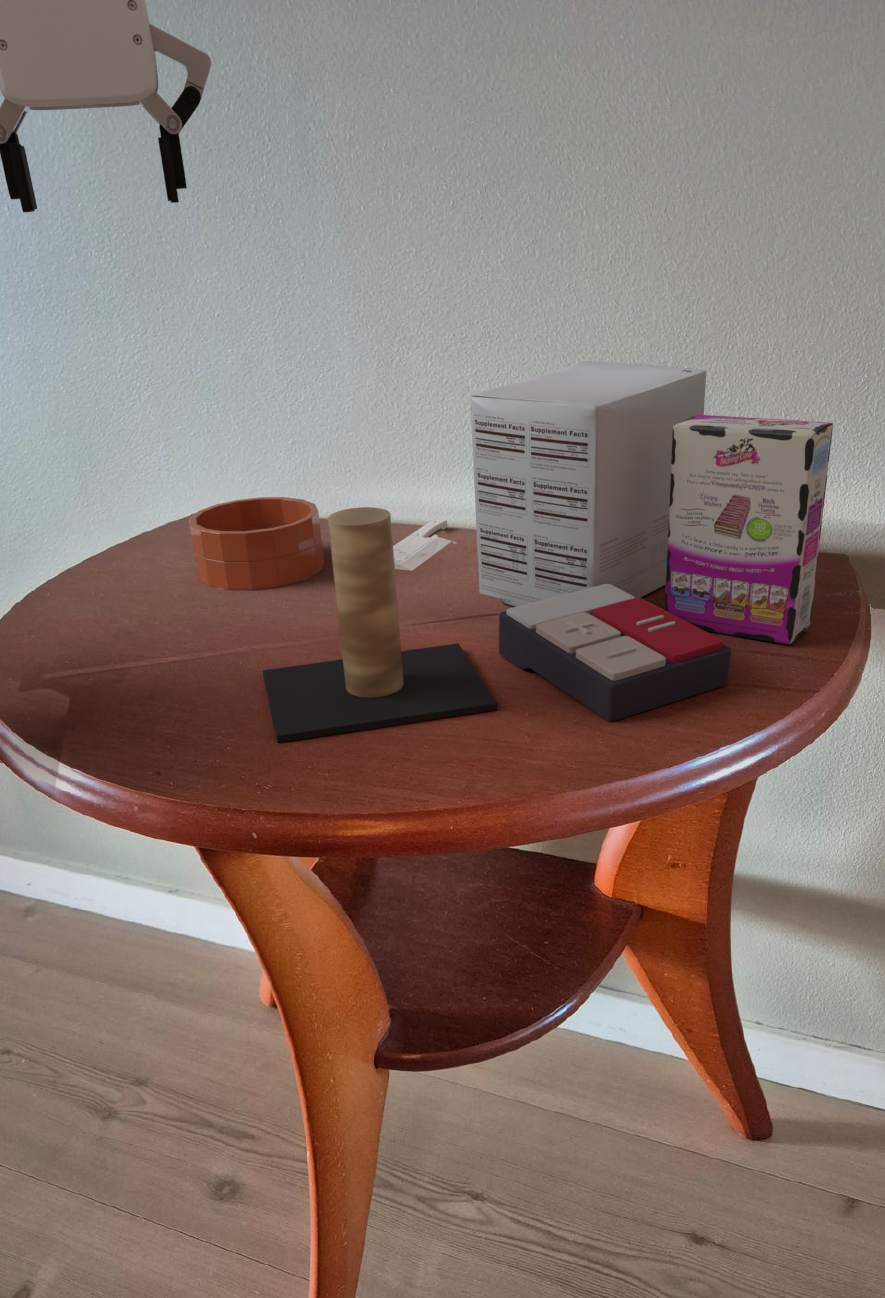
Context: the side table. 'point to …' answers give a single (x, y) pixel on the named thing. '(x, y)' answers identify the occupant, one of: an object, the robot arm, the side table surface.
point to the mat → (325, 707)
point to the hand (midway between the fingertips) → (102, 206)
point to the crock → (257, 543)
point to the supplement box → (577, 478)
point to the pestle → (366, 600)
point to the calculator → (613, 650)
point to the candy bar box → (746, 524)
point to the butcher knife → (419, 546)
